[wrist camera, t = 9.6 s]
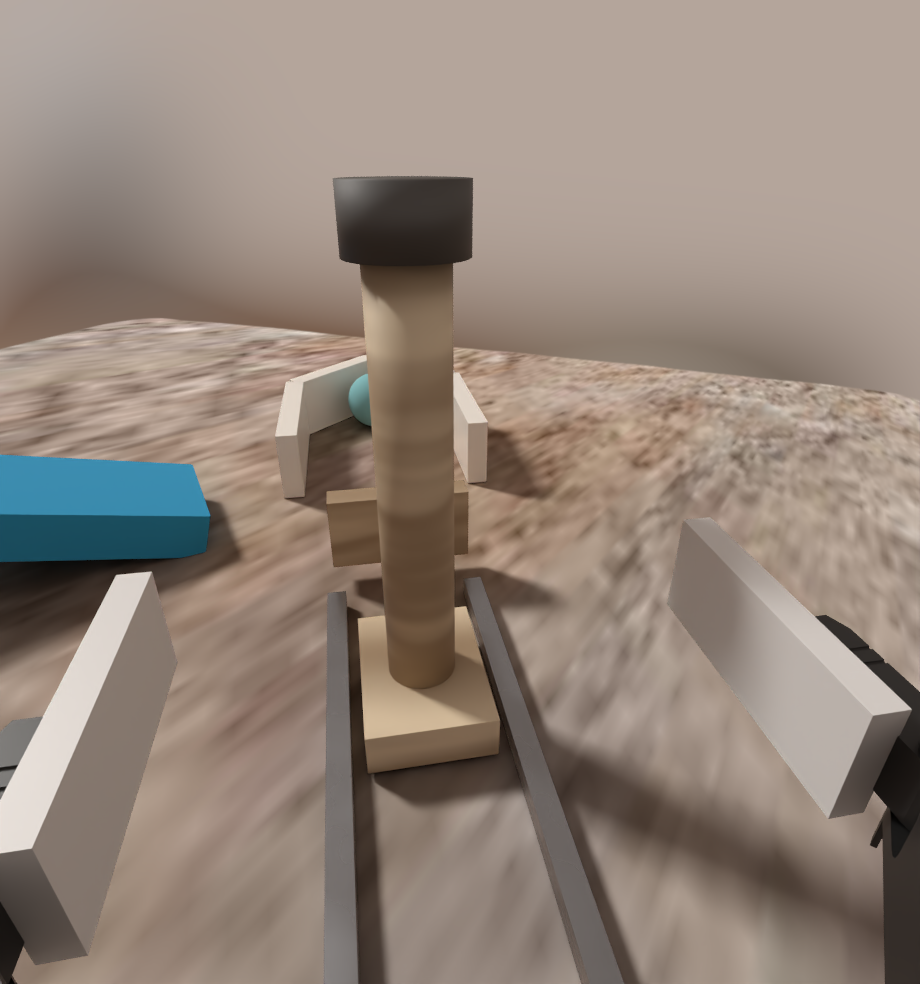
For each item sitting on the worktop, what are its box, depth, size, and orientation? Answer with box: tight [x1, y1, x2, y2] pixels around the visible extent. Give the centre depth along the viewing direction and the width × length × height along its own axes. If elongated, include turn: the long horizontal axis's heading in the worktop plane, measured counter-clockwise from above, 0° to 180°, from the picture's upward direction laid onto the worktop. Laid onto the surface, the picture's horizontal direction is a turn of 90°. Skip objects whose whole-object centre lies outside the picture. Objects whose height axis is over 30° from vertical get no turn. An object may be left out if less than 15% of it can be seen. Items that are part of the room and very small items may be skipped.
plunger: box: [326, 176, 500, 774], centre depth 22 cm, size 12×6×17 cm, turn 10°
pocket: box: [275, 355, 488, 498], centre depth 45 cm, size 16×12×4 cm
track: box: [324, 577, 624, 984], centre depth 21 cm, size 18×7×1 cm, turn 10°
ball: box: [348, 374, 371, 426], centre depth 47 cm, size 4×4×4 cm
